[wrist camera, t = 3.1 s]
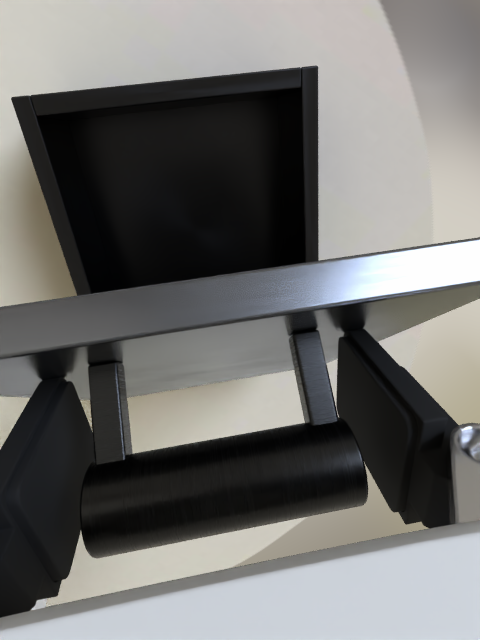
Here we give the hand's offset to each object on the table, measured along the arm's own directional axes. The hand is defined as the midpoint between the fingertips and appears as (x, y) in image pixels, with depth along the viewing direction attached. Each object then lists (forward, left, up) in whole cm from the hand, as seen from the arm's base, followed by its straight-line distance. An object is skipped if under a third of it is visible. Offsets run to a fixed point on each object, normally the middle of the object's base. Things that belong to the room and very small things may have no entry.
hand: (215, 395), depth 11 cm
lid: (+1, 0, -4) cm, 4 cm away
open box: (-1, -1, -16) cm, 16 cm away
